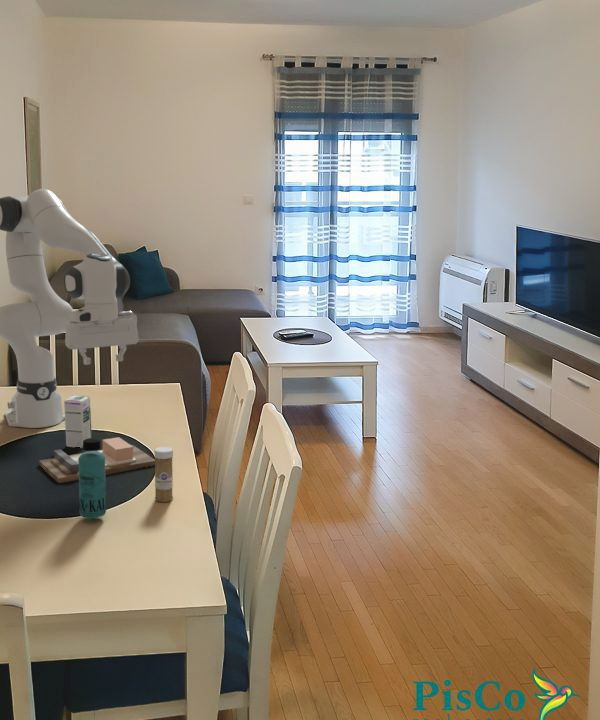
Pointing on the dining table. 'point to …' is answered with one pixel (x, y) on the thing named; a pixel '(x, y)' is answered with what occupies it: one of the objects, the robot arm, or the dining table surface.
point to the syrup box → (77, 420)
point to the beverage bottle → (92, 480)
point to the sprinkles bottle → (163, 474)
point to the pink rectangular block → (117, 451)
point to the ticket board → (108, 470)
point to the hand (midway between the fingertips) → (103, 362)
